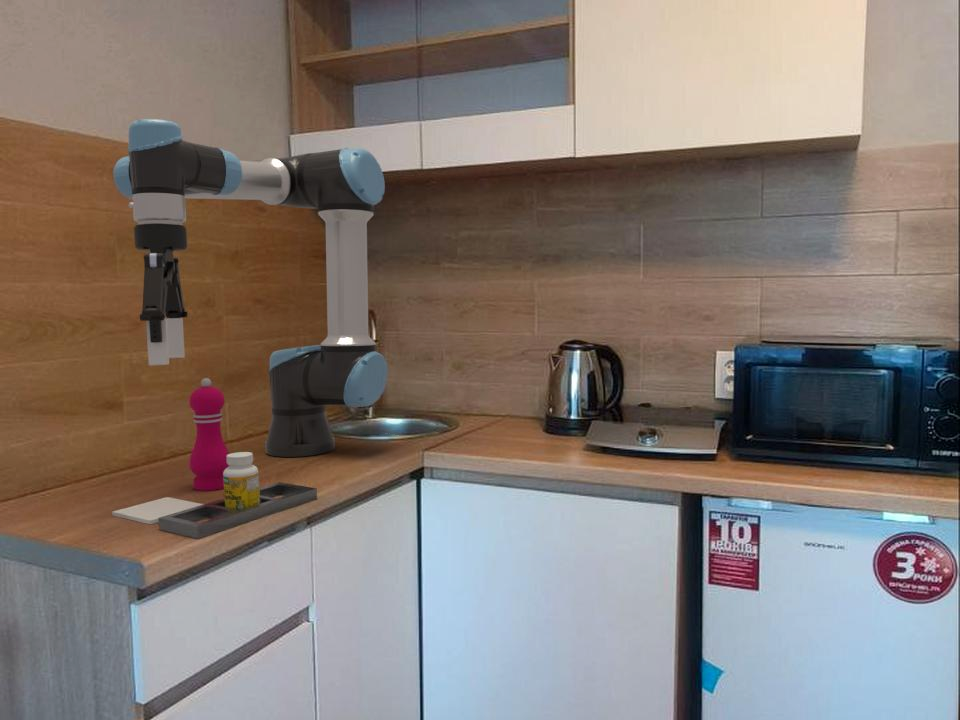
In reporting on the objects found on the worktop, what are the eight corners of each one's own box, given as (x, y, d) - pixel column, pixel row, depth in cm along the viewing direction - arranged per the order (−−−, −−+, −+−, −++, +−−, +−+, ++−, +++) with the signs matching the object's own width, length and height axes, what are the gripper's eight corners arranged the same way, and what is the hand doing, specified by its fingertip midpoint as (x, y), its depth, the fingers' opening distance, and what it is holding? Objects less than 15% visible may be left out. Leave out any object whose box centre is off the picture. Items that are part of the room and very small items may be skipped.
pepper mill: (218, 479, 145) (212, 375, 143) (240, 485, 140) (234, 377, 139) (183, 487, 139) (176, 378, 138) (204, 493, 135) (198, 381, 133)
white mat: (167, 500, 131) (167, 496, 131) (205, 508, 126) (205, 504, 126) (112, 515, 123) (112, 511, 123) (150, 524, 117) (150, 520, 117)
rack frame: (279, 492, 135) (279, 482, 135) (317, 498, 130) (316, 488, 130) (158, 529, 115) (158, 517, 114) (197, 538, 110) (197, 526, 110)
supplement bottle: (267, 511, 123) (264, 452, 122) (242, 520, 119) (239, 459, 118) (243, 507, 126) (240, 449, 125) (217, 515, 121) (214, 456, 120)
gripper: (151, 231, 130) (158, 355, 131) (112, 215, 105) (122, 369, 107) (198, 230, 131) (204, 354, 133) (170, 215, 107) (178, 367, 109)
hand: (167, 361), depth 120 cm, fingers open, 13 cm apart
